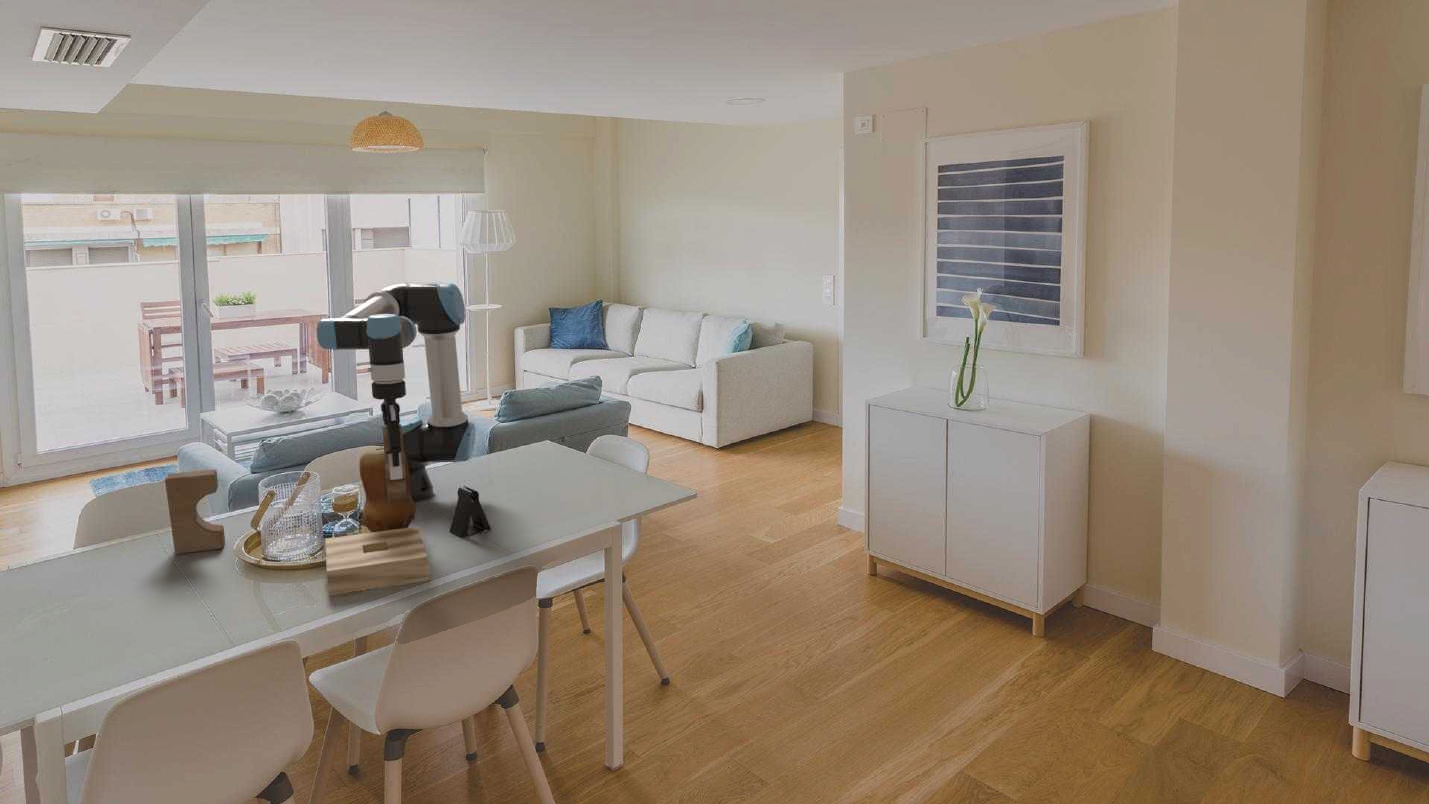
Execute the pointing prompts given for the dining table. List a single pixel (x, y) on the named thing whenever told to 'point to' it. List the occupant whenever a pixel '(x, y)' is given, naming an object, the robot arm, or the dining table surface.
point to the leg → (396, 486)
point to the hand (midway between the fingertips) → (395, 475)
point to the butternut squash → (383, 495)
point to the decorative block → (192, 511)
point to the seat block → (375, 560)
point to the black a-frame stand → (468, 514)
